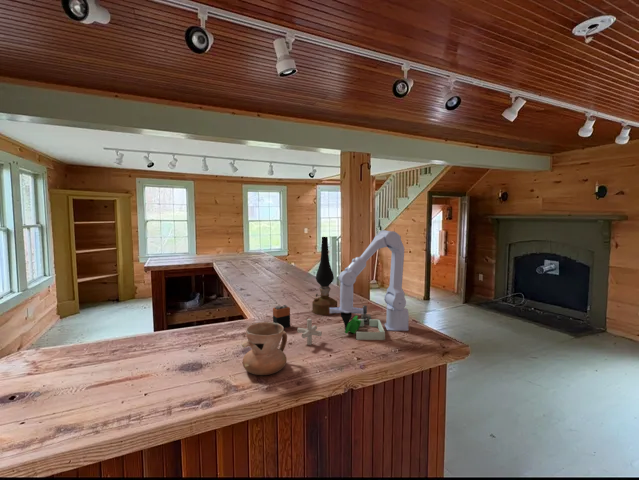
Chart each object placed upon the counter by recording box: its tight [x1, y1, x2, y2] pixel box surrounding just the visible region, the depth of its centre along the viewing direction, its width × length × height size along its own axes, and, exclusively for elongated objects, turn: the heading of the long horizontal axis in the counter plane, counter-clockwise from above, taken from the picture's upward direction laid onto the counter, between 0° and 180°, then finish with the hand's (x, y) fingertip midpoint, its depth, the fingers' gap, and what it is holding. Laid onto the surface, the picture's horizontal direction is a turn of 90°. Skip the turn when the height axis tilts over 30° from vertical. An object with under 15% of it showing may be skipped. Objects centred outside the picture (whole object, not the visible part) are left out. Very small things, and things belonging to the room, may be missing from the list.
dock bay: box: [355, 318, 386, 341], centre depth 139 cm, size 12×16×3 cm
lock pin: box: [362, 305, 368, 321], centre depth 153 cm, size 8×2×5 cm, turn 178°
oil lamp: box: [311, 236, 338, 316], centre depth 168 cm, size 14×15×40 cm
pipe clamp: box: [344, 315, 361, 335], centre depth 140 cm, size 11×4×5 cm, turn 156°
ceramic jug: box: [241, 321, 288, 376], centre depth 107 cm, size 18×14×14 cm
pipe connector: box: [296, 318, 323, 346], centre depth 127 cm, size 10×10×10 cm
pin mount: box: [360, 313, 372, 326], centre depth 150 cm, size 3×4×4 cm
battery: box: [272, 304, 291, 329], centre depth 145 cm, size 4×7×10 cm, turn 125°
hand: (346, 329), depth 139 cm, fingers closed, pressing on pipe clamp
